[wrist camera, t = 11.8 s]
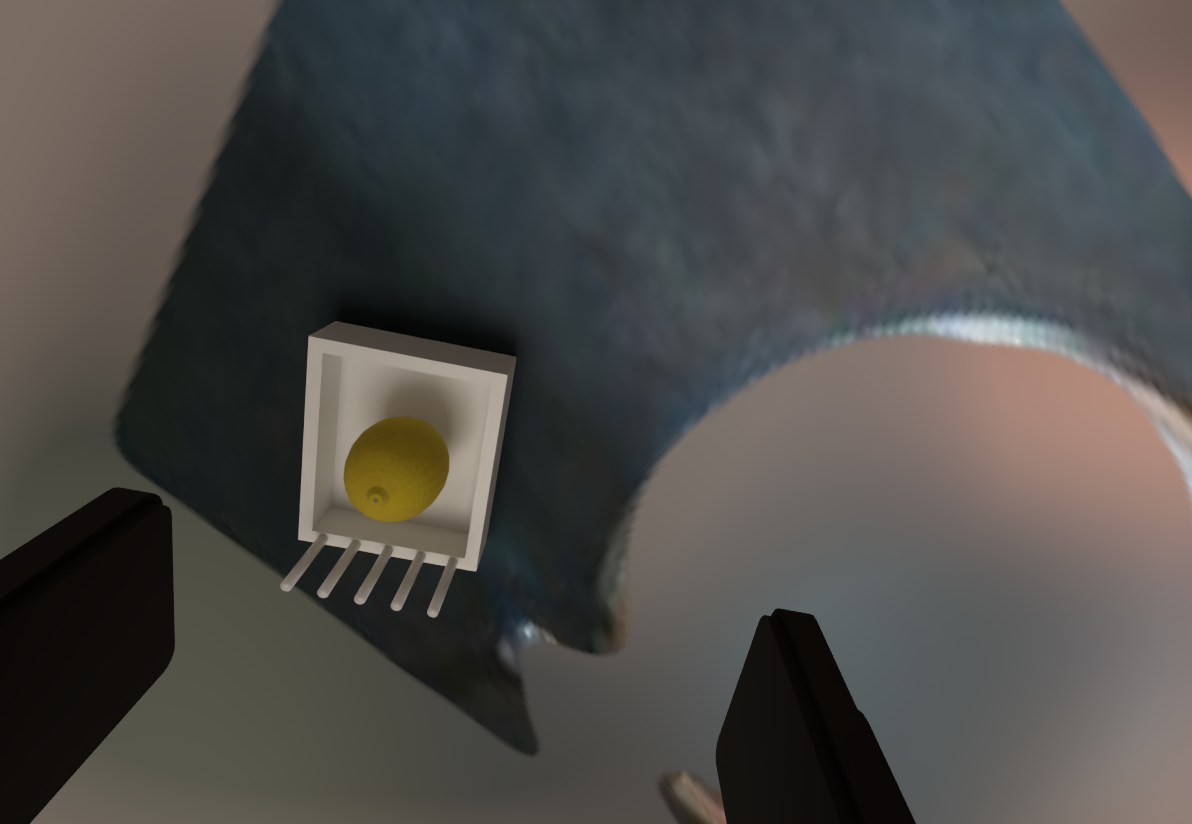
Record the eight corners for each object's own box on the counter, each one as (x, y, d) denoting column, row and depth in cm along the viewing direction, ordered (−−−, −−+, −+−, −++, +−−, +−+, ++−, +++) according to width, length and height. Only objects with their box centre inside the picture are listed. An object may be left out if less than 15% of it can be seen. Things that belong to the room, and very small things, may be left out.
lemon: (355, 443, 42) (300, 504, 34) (407, 380, 40) (362, 429, 33) (426, 496, 43) (388, 566, 35) (479, 437, 41) (451, 497, 34)
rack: (335, 321, 40) (263, 361, 31) (516, 356, 40) (492, 405, 32) (323, 509, 44) (257, 587, 36) (486, 539, 45) (458, 623, 36)
